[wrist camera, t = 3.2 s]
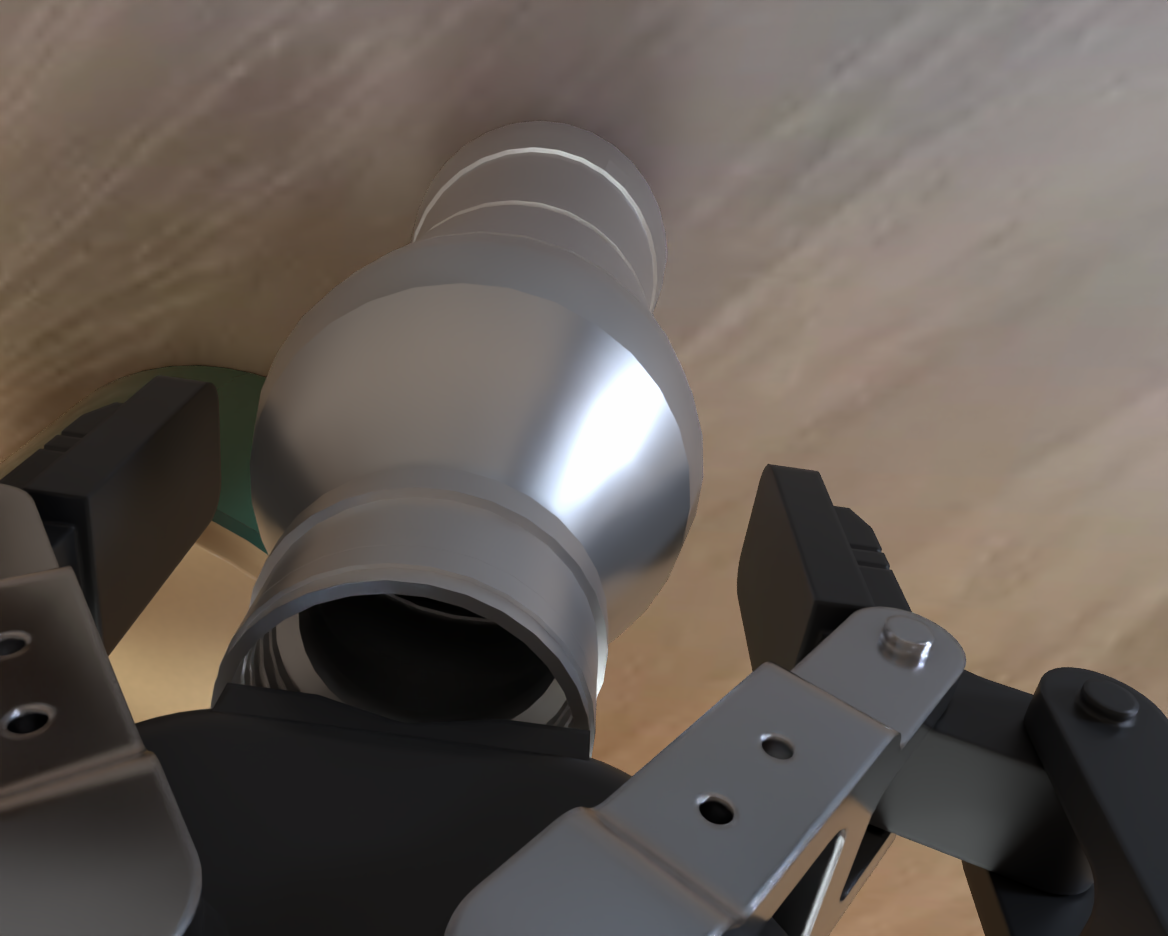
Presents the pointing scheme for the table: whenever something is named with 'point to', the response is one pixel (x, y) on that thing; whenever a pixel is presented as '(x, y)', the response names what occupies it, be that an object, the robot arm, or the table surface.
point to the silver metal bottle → (476, 449)
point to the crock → (188, 558)
